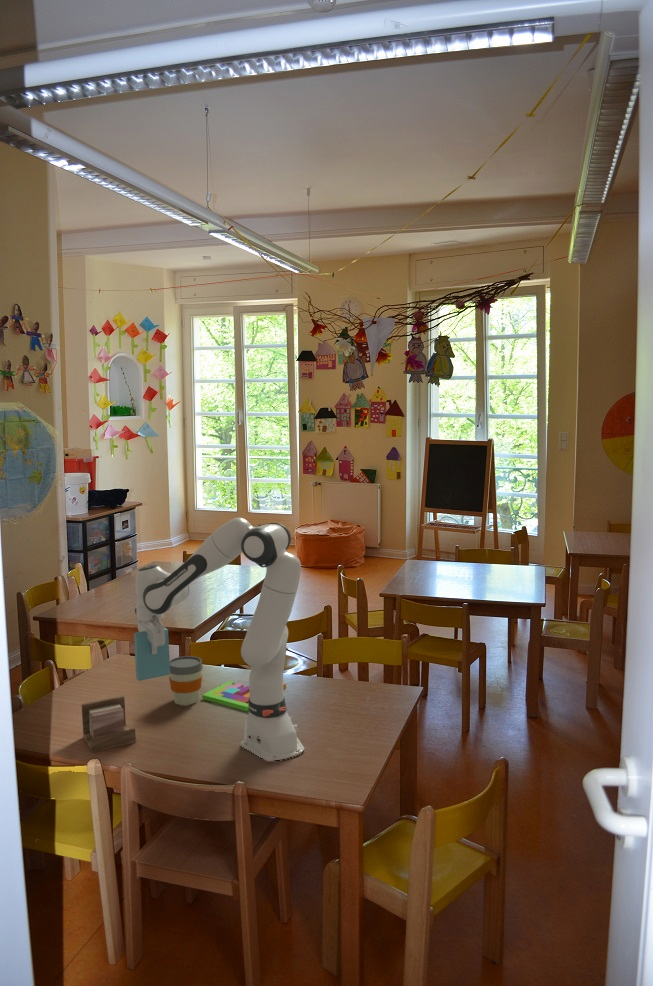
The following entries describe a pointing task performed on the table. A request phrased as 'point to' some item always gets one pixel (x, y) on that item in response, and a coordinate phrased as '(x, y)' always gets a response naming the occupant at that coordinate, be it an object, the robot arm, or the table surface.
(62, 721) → the table surface
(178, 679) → the reusable coffee cup
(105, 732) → the stand
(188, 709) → the table surface
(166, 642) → the teal book
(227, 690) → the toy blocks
